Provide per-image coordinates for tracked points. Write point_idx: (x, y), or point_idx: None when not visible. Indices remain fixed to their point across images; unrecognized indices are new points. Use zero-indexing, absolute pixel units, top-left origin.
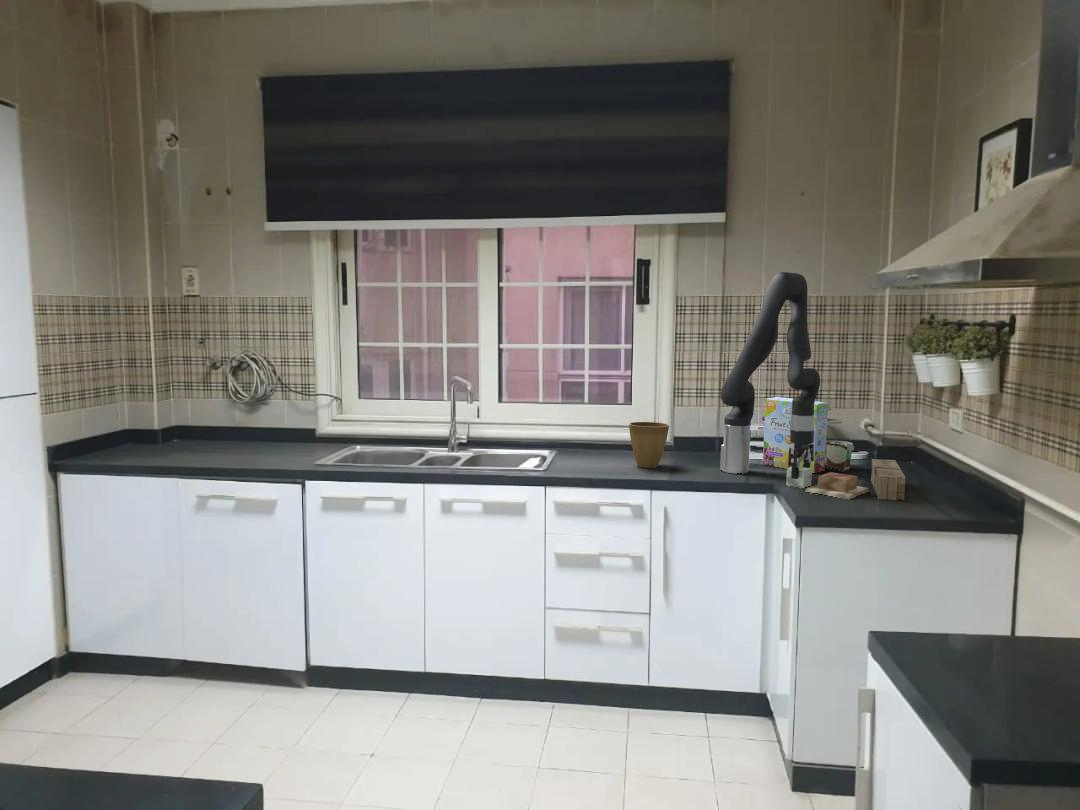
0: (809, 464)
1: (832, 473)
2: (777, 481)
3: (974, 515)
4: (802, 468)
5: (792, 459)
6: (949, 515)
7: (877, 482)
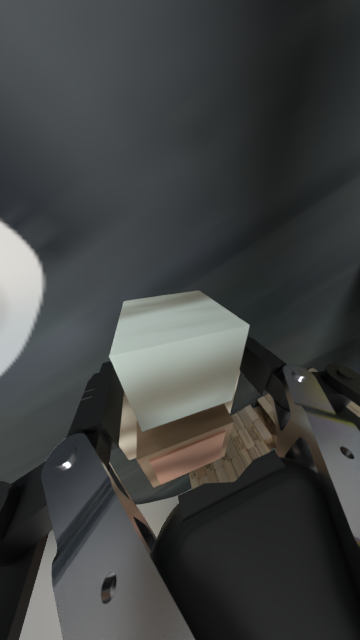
0: (265, 393)
1: (210, 441)
2: (174, 210)
3: (184, 485)
4: (199, 390)
5: (63, 557)
6: (164, 489)
7: (218, 460)
